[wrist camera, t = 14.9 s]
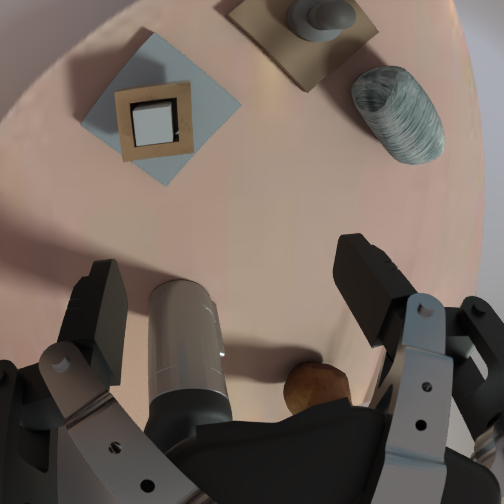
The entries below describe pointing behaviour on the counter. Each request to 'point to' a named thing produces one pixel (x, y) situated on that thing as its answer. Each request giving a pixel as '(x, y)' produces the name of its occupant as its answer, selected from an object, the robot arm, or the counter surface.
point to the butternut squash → (314, 386)
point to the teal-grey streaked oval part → (399, 114)
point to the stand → (305, 34)
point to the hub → (161, 106)
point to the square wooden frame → (173, 89)
